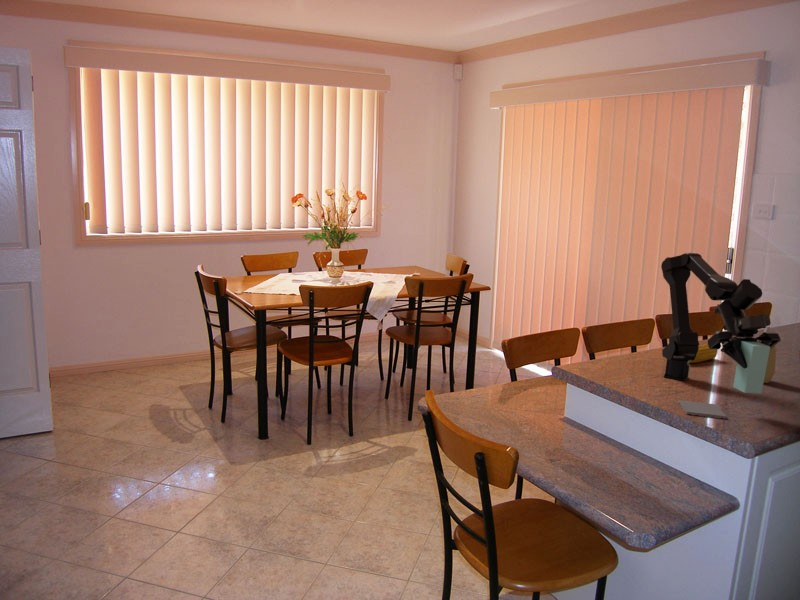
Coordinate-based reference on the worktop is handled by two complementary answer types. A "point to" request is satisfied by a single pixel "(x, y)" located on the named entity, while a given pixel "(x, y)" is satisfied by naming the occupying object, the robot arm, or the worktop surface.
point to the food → (704, 354)
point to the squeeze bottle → (770, 362)
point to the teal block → (752, 367)
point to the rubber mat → (702, 409)
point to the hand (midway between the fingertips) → (754, 367)
